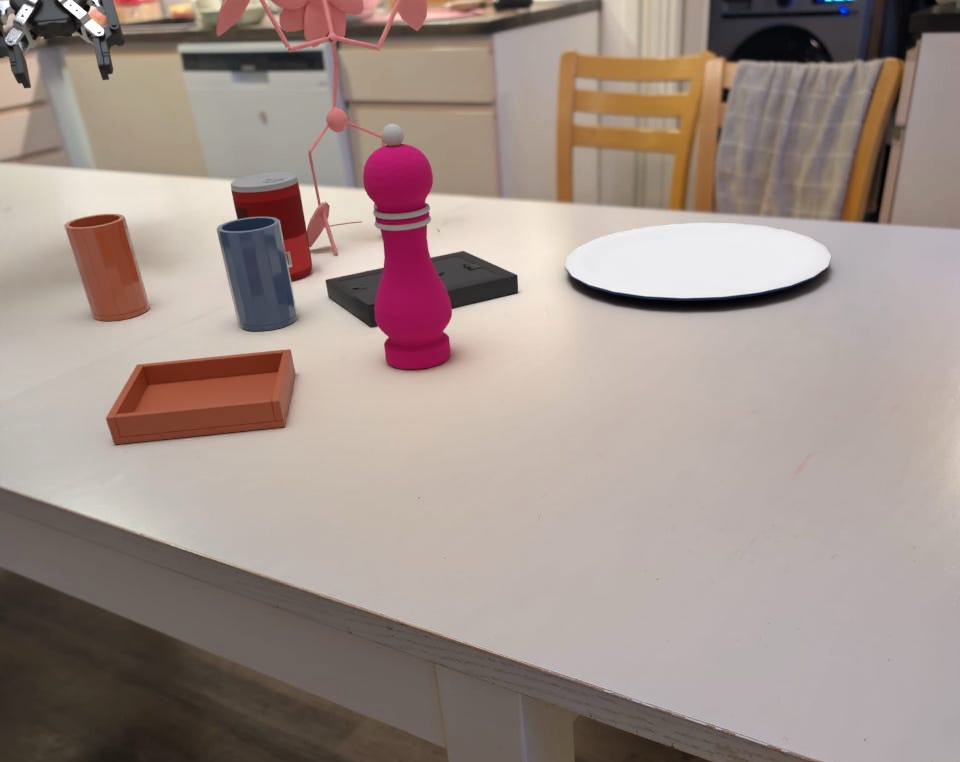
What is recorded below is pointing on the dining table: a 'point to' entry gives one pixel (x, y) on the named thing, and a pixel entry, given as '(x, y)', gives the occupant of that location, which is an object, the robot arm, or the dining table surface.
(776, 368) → the dining table surface
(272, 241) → the blue cup
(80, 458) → the dining table surface
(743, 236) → the plate
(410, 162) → the pepper mill
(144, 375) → the tray
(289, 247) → the canned food
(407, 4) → the figurine
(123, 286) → the terracotta cup
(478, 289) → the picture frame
